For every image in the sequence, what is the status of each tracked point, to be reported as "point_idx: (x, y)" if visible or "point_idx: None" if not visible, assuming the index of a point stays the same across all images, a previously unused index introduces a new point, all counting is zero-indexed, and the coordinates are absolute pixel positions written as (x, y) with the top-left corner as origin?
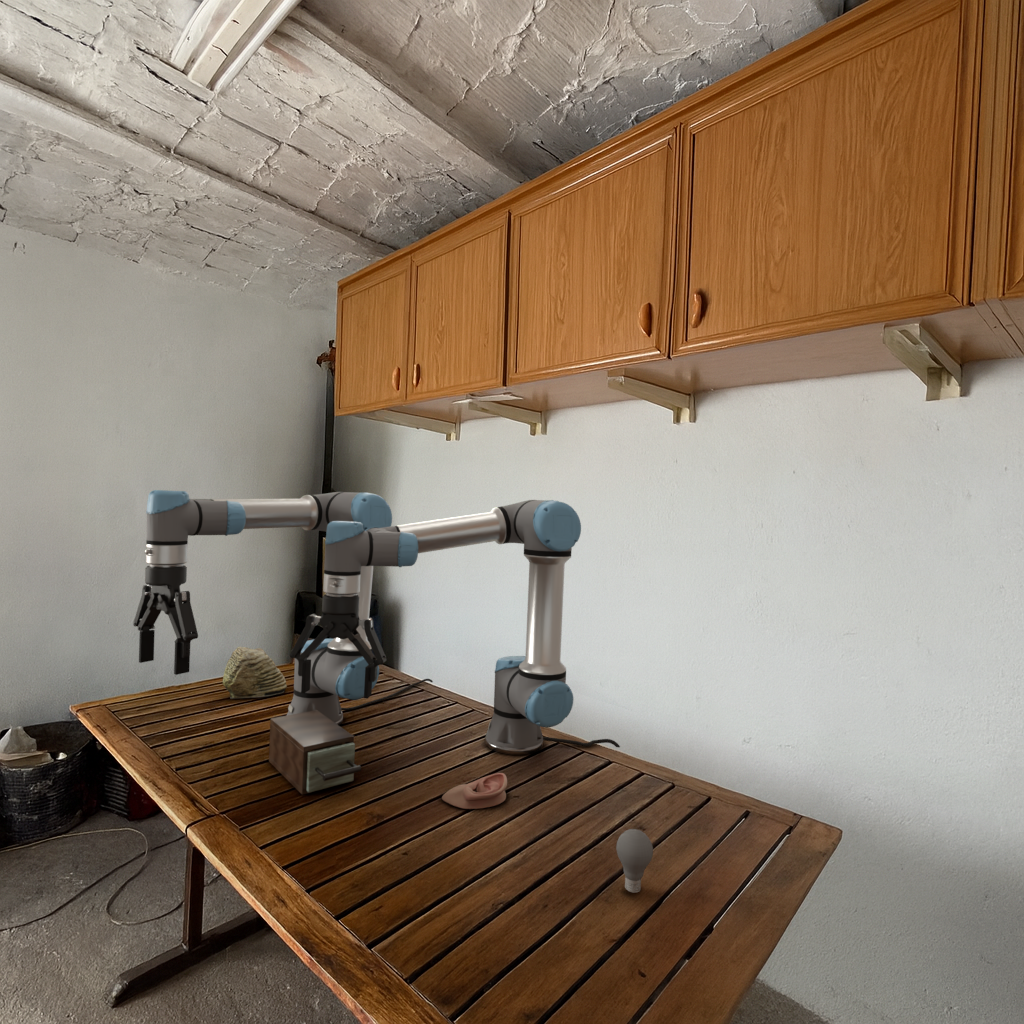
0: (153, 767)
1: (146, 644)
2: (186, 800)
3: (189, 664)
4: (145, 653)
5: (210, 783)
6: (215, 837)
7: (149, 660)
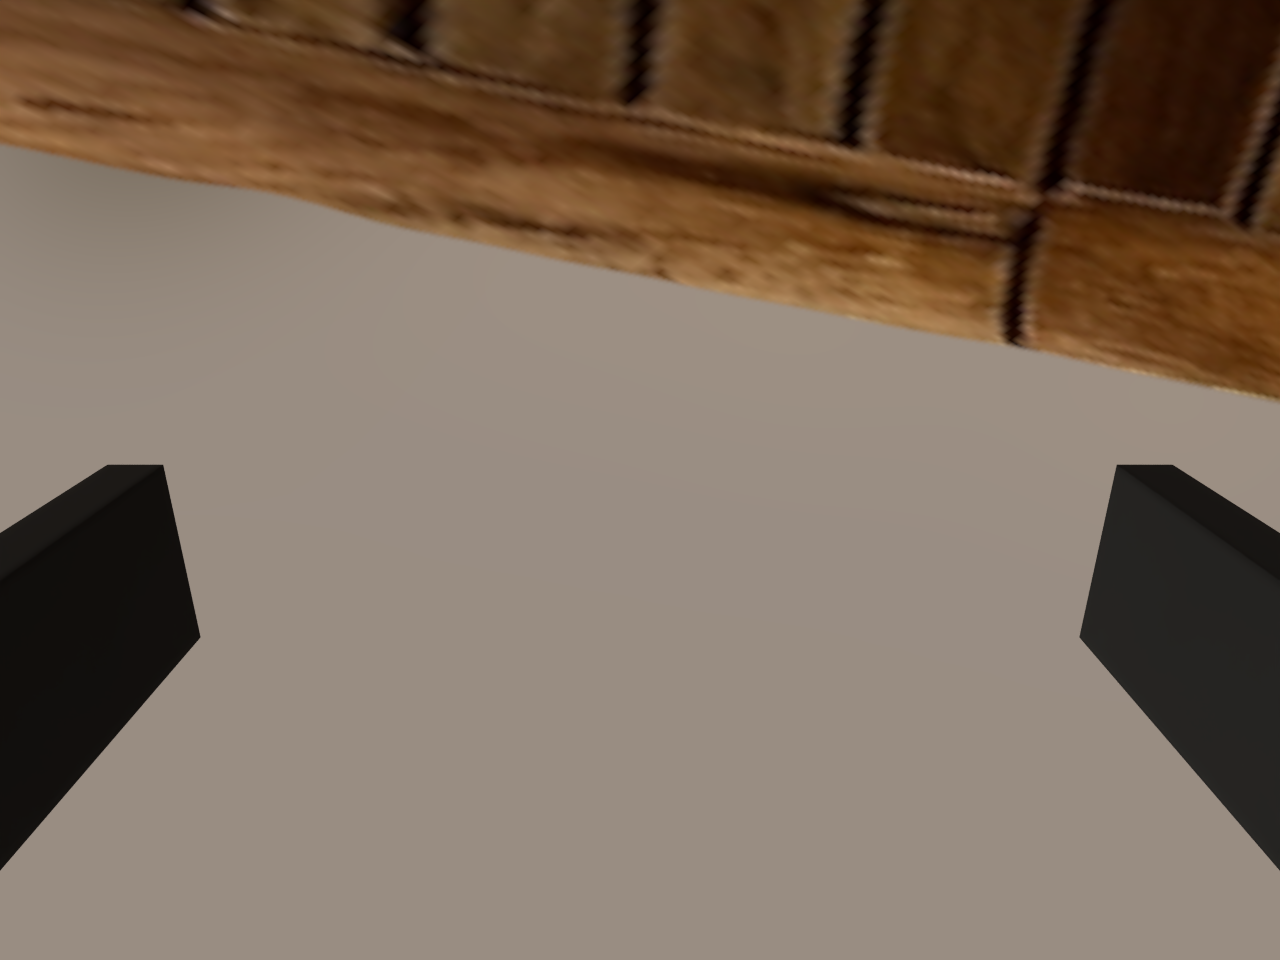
0: (290, 115)
1: (16, 741)
2: (797, 220)
3: (1247, 513)
4: (121, 652)
5: (723, 24)
6: (1192, 328)
7: (171, 529)
